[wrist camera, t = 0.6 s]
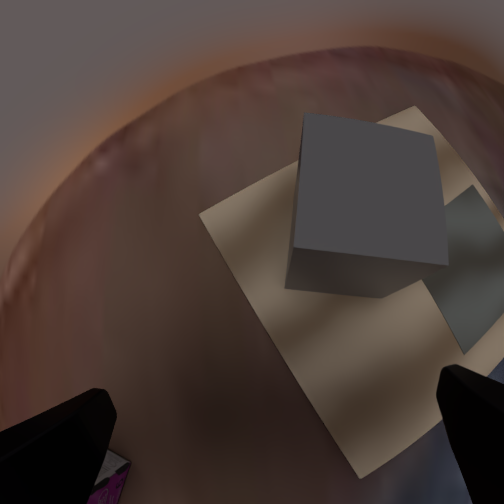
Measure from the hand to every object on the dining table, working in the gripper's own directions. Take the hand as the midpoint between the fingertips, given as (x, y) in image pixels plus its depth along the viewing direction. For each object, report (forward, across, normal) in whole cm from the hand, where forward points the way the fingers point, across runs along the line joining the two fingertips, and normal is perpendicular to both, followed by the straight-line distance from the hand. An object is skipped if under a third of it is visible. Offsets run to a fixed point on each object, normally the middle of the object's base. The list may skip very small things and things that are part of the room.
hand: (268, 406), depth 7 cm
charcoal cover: (+15, -4, 0) cm, 15 cm away
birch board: (+15, -9, +2) cm, 18 cm away
